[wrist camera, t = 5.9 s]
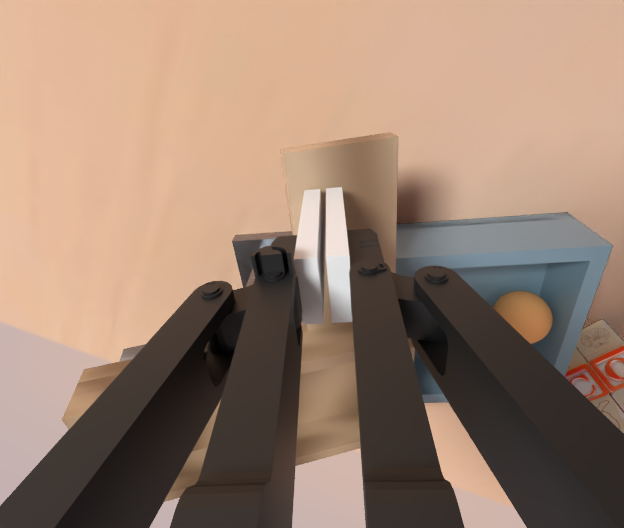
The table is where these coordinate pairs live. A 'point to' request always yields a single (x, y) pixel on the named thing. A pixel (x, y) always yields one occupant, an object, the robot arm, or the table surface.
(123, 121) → the table surface
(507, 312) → the ball
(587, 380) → the stack of blocks
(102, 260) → the table surface
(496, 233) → the tub
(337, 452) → the chute
